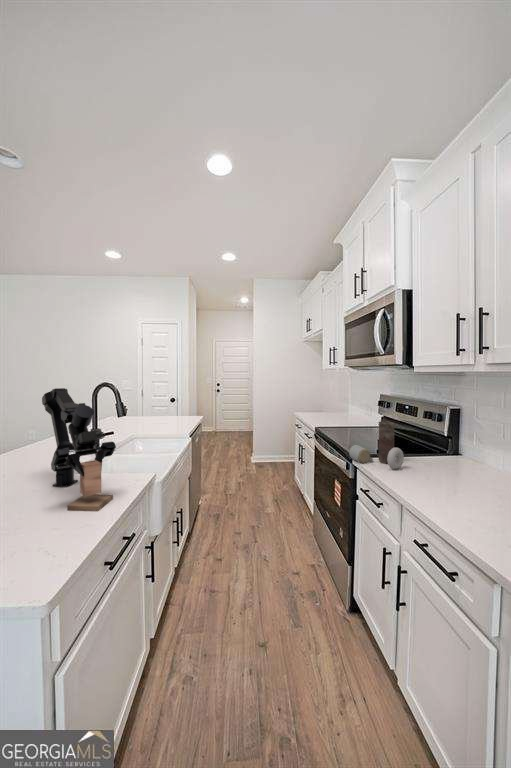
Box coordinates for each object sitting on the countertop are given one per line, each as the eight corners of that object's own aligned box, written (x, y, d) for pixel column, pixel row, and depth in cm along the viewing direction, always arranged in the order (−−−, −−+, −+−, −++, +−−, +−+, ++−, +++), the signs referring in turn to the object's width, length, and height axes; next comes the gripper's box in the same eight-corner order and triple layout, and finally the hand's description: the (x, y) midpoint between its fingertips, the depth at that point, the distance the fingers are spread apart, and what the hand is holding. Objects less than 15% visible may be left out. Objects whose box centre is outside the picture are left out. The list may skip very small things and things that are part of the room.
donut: (398, 466, 156) (398, 445, 155) (405, 468, 153) (405, 446, 152) (385, 469, 150) (385, 448, 150) (392, 471, 147) (392, 449, 147)
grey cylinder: (358, 464, 159) (359, 448, 159) (348, 460, 167) (349, 444, 166) (376, 462, 162) (377, 447, 162) (366, 458, 170) (366, 443, 170)
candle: (375, 460, 167) (376, 420, 166) (389, 459, 167) (390, 420, 167) (382, 464, 159) (383, 423, 158) (397, 464, 160) (397, 422, 159)
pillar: (80, 492, 110) (79, 462, 109) (95, 488, 113) (95, 460, 113) (85, 496, 106) (84, 466, 106) (101, 492, 110) (101, 463, 109)
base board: (84, 498, 115) (84, 494, 115) (112, 499, 115) (112, 494, 114) (67, 510, 105) (67, 505, 105) (97, 511, 105) (97, 506, 104)
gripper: (54, 424, 105) (65, 466, 98) (113, 418, 118) (127, 455, 111) (48, 445, 111) (58, 485, 103) (105, 437, 124) (117, 473, 117)
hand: (92, 474), depth 108 cm, fingers closed on pillar, 5 cm apart
